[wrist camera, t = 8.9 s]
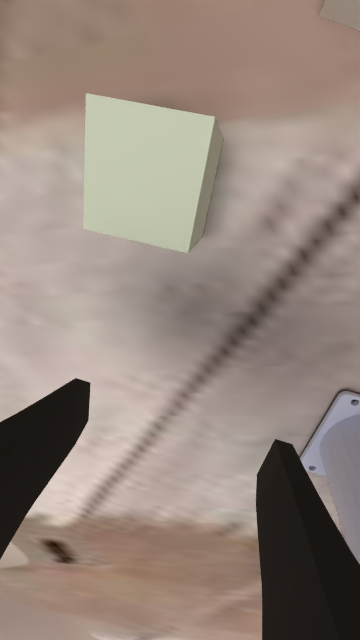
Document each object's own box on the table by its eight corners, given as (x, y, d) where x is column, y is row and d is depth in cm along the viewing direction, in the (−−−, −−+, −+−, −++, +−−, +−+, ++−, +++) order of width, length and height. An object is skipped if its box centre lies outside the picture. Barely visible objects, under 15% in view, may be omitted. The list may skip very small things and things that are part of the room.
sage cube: (223, 139, 14) (215, 116, 10) (202, 236, 17) (187, 253, 12) (132, 122, 15) (86, 93, 10) (124, 218, 17) (83, 228, 13)
